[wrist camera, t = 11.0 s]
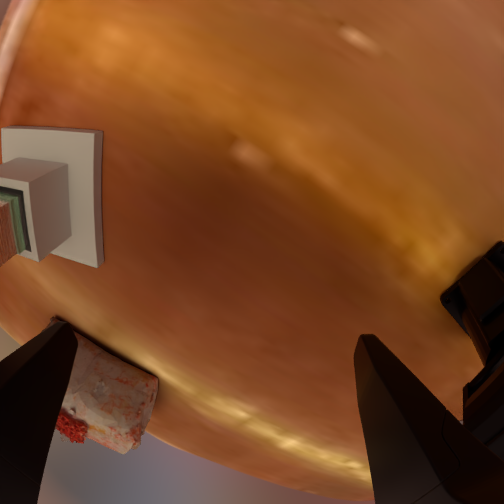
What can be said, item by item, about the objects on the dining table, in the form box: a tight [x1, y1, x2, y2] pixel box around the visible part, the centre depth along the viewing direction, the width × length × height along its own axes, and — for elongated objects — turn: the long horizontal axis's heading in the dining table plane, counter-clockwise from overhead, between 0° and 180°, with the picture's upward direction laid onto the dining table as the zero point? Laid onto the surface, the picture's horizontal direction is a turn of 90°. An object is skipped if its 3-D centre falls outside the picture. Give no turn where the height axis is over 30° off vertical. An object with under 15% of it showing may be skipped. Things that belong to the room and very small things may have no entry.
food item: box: [42, 316, 158, 454], centre depth 25 cm, size 14×8×10 cm, turn 62°
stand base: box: [0, 126, 104, 268], centre depth 18 cm, size 10×10×6 cm
